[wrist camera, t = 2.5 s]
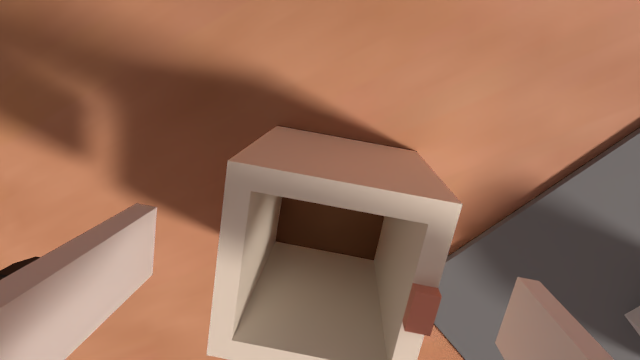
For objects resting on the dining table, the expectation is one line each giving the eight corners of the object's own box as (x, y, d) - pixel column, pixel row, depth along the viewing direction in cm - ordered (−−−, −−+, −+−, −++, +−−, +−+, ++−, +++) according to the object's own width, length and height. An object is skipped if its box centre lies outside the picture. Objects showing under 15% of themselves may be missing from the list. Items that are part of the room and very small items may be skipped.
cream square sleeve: (259, 251, 21) (201, 365, 13) (276, 125, 19) (222, 164, 11) (385, 276, 21) (408, 407, 13) (416, 151, 19) (467, 210, 11)
